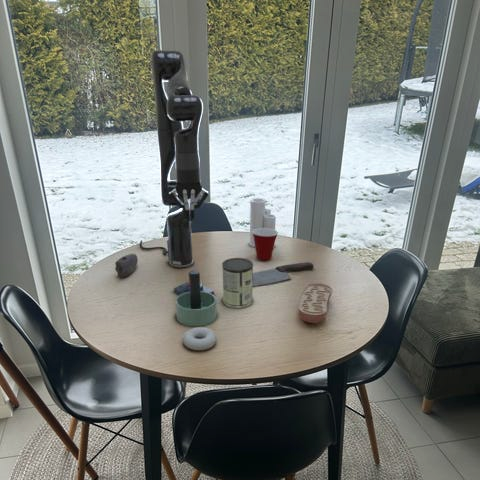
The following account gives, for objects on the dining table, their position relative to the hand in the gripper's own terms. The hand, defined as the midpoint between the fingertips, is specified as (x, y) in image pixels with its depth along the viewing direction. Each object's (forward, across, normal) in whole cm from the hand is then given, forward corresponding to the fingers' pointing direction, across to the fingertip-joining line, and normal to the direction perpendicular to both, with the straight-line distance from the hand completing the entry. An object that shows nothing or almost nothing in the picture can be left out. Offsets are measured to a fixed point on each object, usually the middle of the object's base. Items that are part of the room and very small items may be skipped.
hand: (190, 220), depth 155 cm
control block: (+27, 0, 0) cm, 27 cm away
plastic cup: (+27, +30, +30) cm, 50 cm away
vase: (+27, +31, +46) cm, 61 cm away
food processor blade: (+26, +1, -16) cm, 31 cm away
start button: (+24, 0, 0) cm, 24 cm away
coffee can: (+27, +15, -7) cm, 32 cm away
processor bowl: (+27, +1, -16) cm, 32 cm away
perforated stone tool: (+27, -25, +21) cm, 42 cm away
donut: (+27, +1, -33) cm, 43 cm away
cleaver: (+27, +34, +13) cm, 45 cm away
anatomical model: (+27, +40, -16) cm, 51 cm away
